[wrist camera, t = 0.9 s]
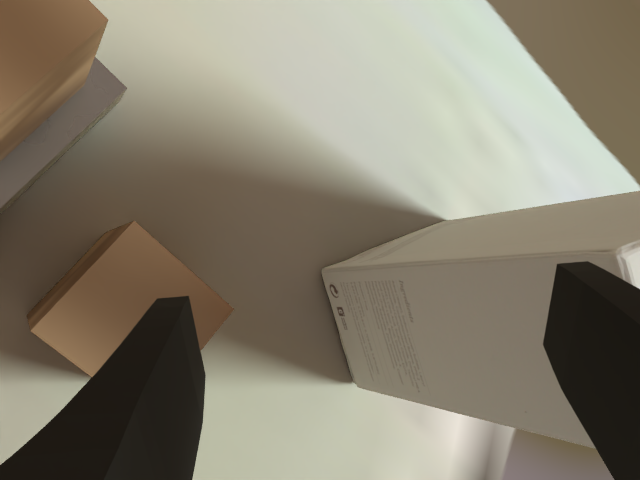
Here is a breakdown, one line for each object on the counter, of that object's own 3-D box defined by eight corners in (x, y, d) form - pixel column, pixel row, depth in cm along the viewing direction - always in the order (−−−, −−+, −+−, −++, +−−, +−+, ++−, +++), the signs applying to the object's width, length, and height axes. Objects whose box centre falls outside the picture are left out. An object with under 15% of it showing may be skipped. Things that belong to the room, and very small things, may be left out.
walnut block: (114, 382, 22) (145, 418, 17) (26, 315, 21) (30, 331, 16) (186, 297, 24) (236, 306, 18) (108, 230, 22) (136, 218, 17)
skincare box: (351, 387, 27) (676, 503, 14) (313, 261, 26) (614, 253, 13) (484, 321, 31) (841, 360, 17) (453, 208, 30) (799, 161, 17)
